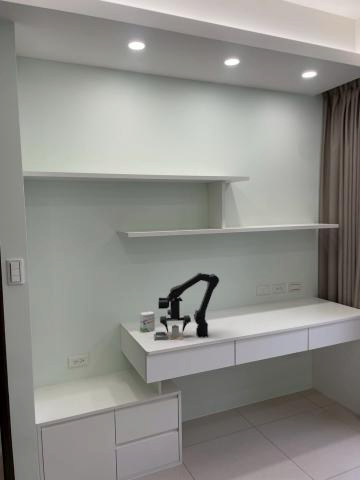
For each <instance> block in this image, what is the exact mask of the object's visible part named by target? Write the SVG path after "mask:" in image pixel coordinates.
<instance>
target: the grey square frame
mask: <svg viewBox="0 0 360 480" xmlns="http://www.w3.org/2000/svg"><path fill="white" fill-rule="evenodd" d="M153 339H154V341H169V339H168V333H167V332H166V331H155V333H154V334H153Z"/></svg>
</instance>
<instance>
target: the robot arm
mask: <svg viewBox="0 0 360 480" xmlns="http://www.w3.org/2000/svg"><path fill="white" fill-rule="evenodd" d="M201 281H203V282H206V290H205V291H204V295H203V297H202V300H201V302H200V306H199V308H198V310H197V309H195V310H194V311H195V312H194V314H192V315H193V320H194V323H195V324H196V326H197V327H196V328H195V330H196V331H195V333H196V336H197V337H198V338H209V324H208V322H207V320H206V314H207V309H208V307H209V304H210V300H211V298H212V295H213V292H214V290H215V289H216V288H217V286H218V285H219V282H220V278H219V277H218V276H217V274H215V273H211V274H207V273H202V272H198V273H197V274H196V275H194V276H193V277H191V278H189V279H188V280H186V281H185V282H183V283H181V284H179V285H176V286H173V287H171V289H169V293H168V294H167V296H166V297H158V303H157V304H158V305H157V307H158V310H160V309H161V310H166V309H167V316H169V317H167V316H166V315H165V316H164V315H162V316H160V317H159V323H160V324H162V325H163V326H164V327H165V329H166V333H167V334H169V328H168V322H175V321H176V322H178V321H181V322H182V328H181V330H182V331H181V332H182V333H181V334H183V333H184V331H185V328H186V327H187V325H188V324H189V323H191V321H192V320H191V316H190V315H188V314H187V315H183V317H181V313H180V309H181V308H180V302H183V298H182V297H181V296H182V295H183V294H184V292H185V291H186V290H188V289H189V288H191V287H193V286H195V285H196V284H198V283H199V282H201ZM169 308H170V309H169Z"/></svg>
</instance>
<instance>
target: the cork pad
mask: <svg viewBox="0 0 360 480" xmlns="http://www.w3.org/2000/svg"><path fill="white" fill-rule="evenodd" d="M167 337H168V341H169V340H184V336H183V333H179V338H172V333H167Z"/></svg>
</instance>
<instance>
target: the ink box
mask: <svg viewBox="0 0 360 480" xmlns="http://www.w3.org/2000/svg"><path fill="white" fill-rule="evenodd" d="M155 320H156V318H155V312H153V311H144V312H140V313H139V321H140V322H139V324H140V325H139V326H140V328H139V329H140V332H142V333H147V332H154V331H155V330H156V329H155V327H156V325H155V324H156V323H155ZM155 332H156V331H155Z"/></svg>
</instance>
